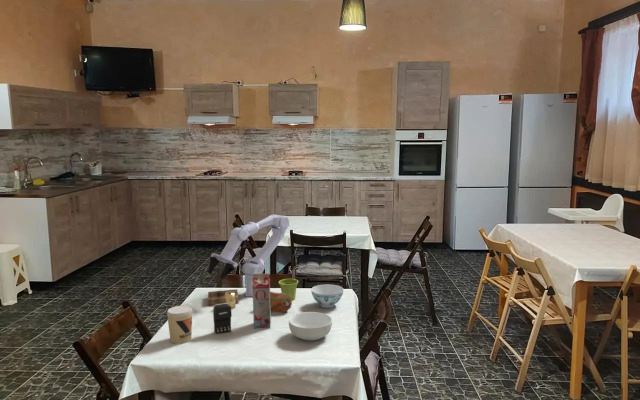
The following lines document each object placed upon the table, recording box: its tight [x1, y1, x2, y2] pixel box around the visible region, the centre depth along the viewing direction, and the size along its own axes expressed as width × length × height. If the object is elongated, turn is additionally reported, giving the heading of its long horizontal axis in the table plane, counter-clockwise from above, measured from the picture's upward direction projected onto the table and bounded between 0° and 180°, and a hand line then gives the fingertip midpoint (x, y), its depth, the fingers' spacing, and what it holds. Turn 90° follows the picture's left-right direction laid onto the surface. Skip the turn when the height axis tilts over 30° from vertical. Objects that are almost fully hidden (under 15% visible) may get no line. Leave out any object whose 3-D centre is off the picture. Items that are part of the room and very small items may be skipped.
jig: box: [207, 289, 240, 307], centre depth 221 cm, size 14×12×3 cm
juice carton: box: [252, 273, 272, 330], centre depth 189 cm, size 7×7×22 cm
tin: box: [270, 291, 293, 313], centre depth 207 cm, size 15×3×8 cm, turn 68°
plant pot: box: [278, 278, 299, 301], centre depth 222 cm, size 9×9×9 cm
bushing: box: [225, 291, 236, 310], centre depth 211 cm, size 4×4×7 cm
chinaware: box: [310, 283, 345, 309], centre depth 213 cm, size 15×15×8 cm
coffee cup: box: [166, 305, 193, 345], centre depth 176 cm, size 9×9×12 cm
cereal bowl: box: [288, 311, 333, 342], centre depth 178 cm, size 17×17×7 cm
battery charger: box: [212, 303, 233, 335], centre depth 183 cm, size 7×4×11 cm, turn 114°
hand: (215, 275), depth 214 cm, fingers open, 7 cm apart
